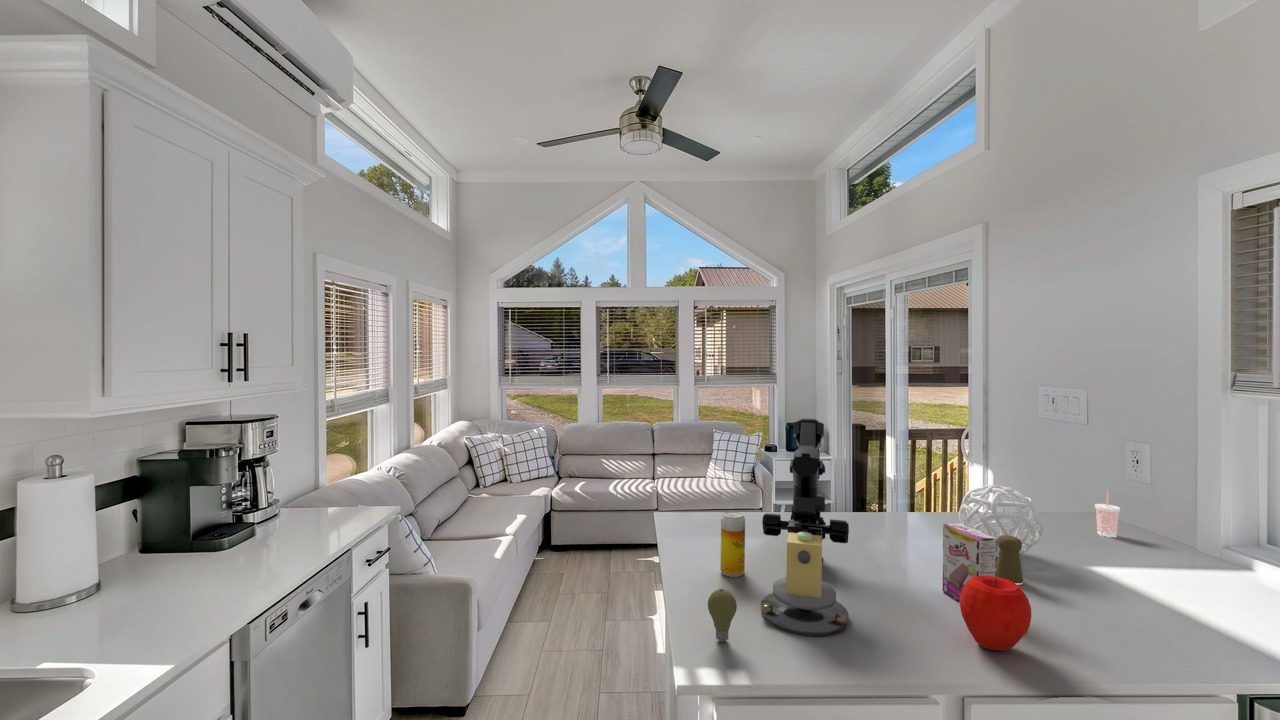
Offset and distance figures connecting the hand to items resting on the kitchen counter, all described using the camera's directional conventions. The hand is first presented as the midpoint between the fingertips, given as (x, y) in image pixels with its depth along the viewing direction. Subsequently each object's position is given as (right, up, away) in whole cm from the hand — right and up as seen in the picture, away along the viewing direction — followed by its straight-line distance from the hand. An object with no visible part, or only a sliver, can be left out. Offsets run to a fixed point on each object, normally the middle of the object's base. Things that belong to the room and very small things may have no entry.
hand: (803, 563), depth 122 cm
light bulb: (-20, -10, -14) cm, 26 cm away
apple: (+32, -11, -15) cm, 37 cm away
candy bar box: (+38, -11, +4) cm, 40 cm away
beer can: (-12, -10, +20) cm, 25 cm away
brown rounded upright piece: (+56, -10, +16) cm, 59 cm away
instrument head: (-1, -6, -3) cm, 7 cm away
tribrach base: (-1, -10, -3) cm, 11 cm away
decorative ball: (+64, -10, +33) cm, 73 cm away
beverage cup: (+109, -10, +51) cm, 121 cm away
